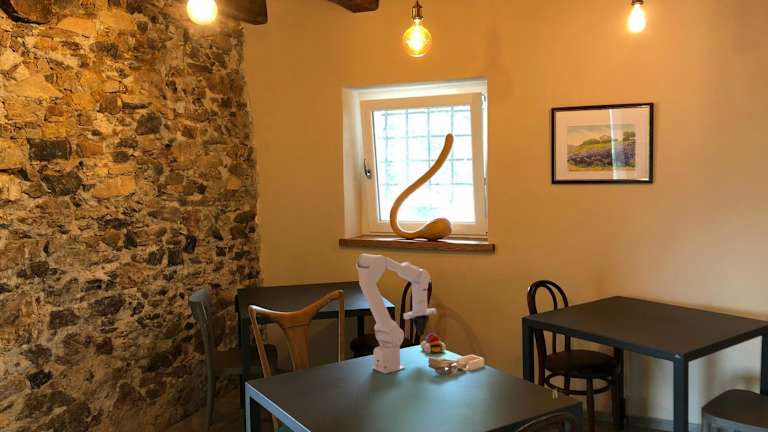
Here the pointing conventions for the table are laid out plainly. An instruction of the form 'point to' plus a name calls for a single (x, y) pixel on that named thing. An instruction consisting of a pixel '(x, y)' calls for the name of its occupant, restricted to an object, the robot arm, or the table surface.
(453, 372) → the mount
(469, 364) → the tan shallow rectangular box
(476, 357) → the ball
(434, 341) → the colorful rounded pieces cluster
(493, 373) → the table surface
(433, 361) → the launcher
